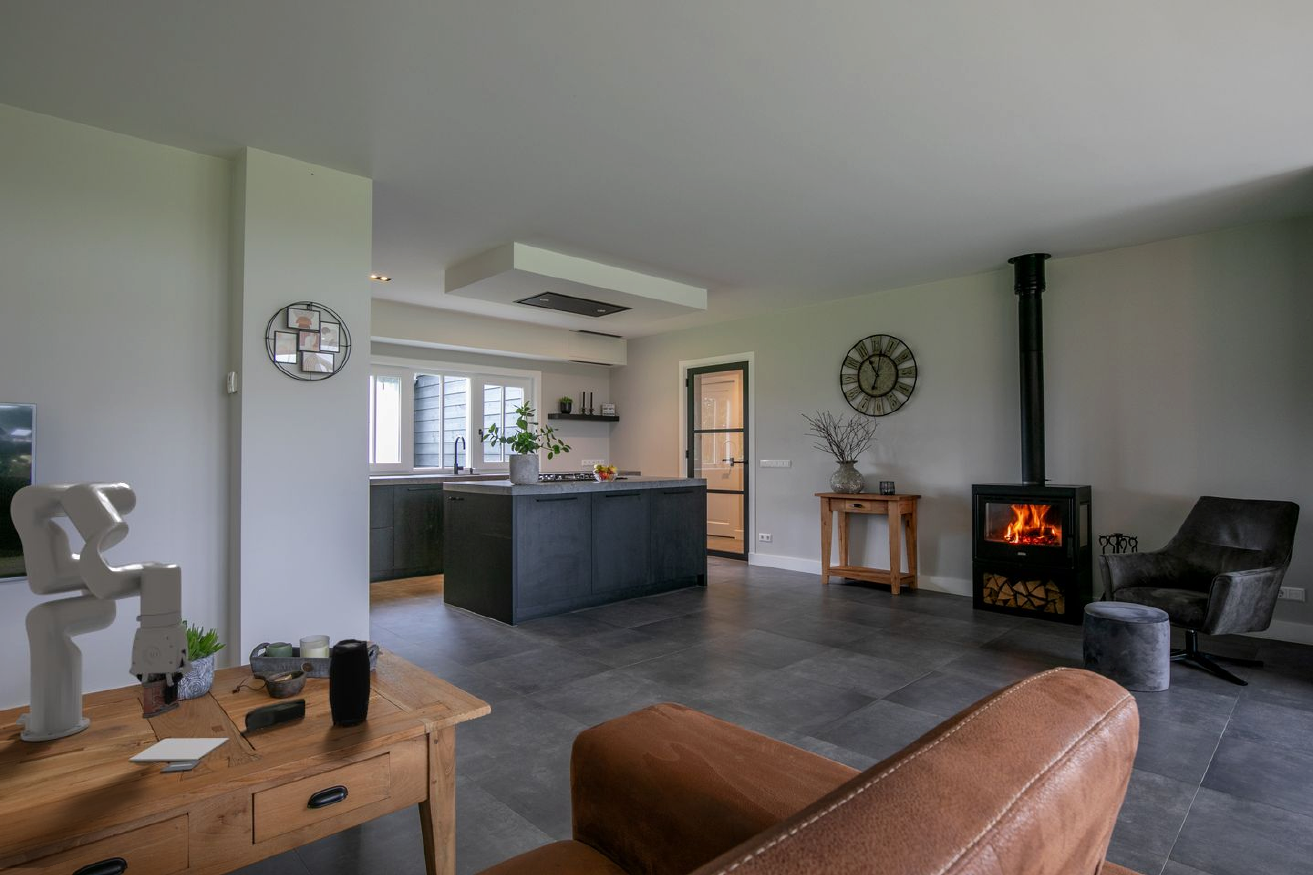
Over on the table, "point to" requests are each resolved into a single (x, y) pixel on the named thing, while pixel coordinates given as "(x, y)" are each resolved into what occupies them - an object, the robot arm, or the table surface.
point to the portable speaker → (349, 682)
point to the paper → (180, 749)
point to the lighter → (156, 696)
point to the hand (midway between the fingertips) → (161, 701)
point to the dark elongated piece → (274, 715)
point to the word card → (180, 766)
